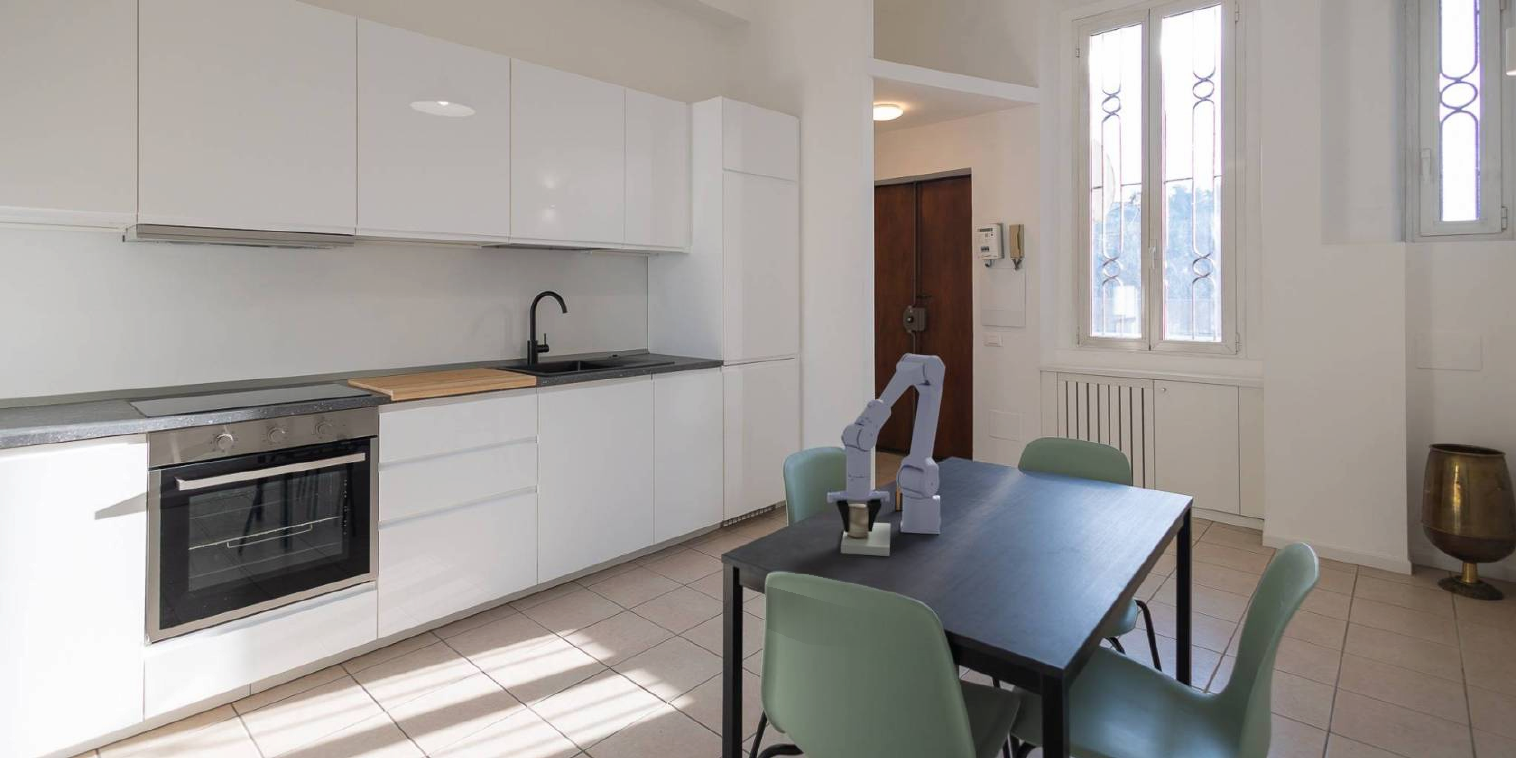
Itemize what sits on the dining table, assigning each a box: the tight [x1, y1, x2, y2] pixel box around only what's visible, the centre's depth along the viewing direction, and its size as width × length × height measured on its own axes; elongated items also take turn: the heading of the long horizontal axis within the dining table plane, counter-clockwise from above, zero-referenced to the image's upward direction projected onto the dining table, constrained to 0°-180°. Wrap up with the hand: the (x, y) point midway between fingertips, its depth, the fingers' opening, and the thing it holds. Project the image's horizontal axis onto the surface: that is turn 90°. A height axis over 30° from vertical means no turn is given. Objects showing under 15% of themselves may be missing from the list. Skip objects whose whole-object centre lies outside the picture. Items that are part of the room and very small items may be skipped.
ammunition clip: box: [894, 467, 919, 512], centre depth 209 cm, size 11×2×12 cm, turn 138°
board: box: [840, 522, 891, 557], centre depth 180 cm, size 11×18×2 cm, turn 169°
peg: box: [847, 503, 869, 539], centre depth 178 cm, size 5×5×9 cm
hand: (858, 530), depth 178 cm, fingers closed on peg, 5 cm apart
